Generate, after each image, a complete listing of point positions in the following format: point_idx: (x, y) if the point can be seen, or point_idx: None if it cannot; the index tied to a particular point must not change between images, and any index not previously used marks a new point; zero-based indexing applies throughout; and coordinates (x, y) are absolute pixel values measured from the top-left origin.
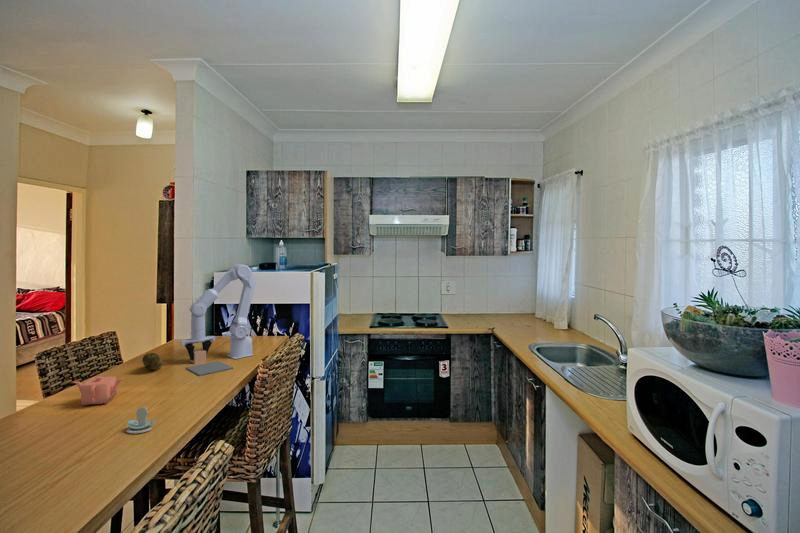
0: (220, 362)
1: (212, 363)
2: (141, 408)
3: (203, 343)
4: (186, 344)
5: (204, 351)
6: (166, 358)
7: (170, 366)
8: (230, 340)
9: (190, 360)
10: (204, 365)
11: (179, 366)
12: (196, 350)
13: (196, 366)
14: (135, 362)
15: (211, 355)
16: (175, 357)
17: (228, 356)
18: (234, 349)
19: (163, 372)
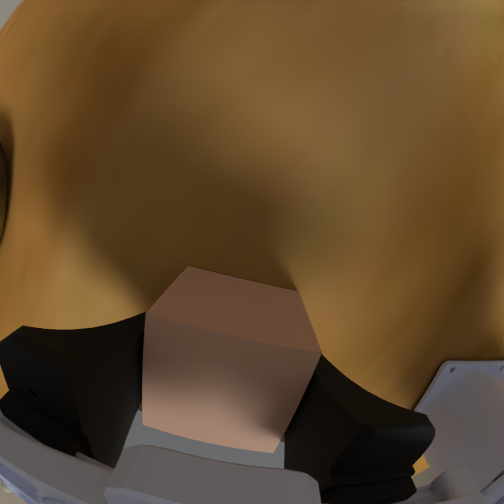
0: (283, 466)
1: (239, 455)
2: (4, 489)
3: (322, 465)
4: (14, 426)
5: (252, 448)
6: (152, 5)
7: (42, 250)
8: (483, 473)
9: (184, 271)
10: (182, 447)
11: (76, 307)
12: (214, 369)
13: (138, 426)
14: (36, 9)
15: (432, 242)
16: (208, 18)
17: (429, 386)
18: (430, 465)
19: (5, 323)
